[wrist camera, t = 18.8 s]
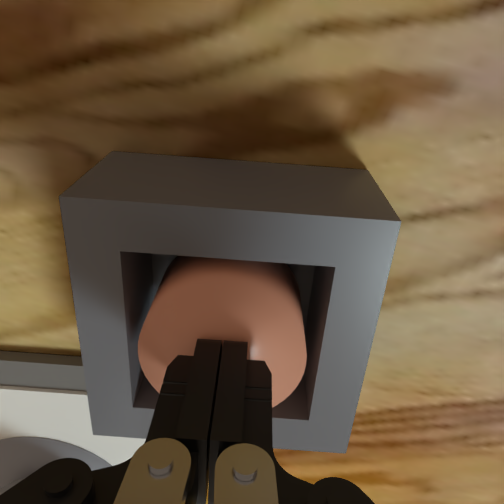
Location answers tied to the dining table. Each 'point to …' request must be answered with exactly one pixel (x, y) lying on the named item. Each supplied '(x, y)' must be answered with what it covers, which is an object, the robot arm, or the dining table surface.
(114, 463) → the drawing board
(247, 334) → the button
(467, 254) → the dining table surface
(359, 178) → the button housing
